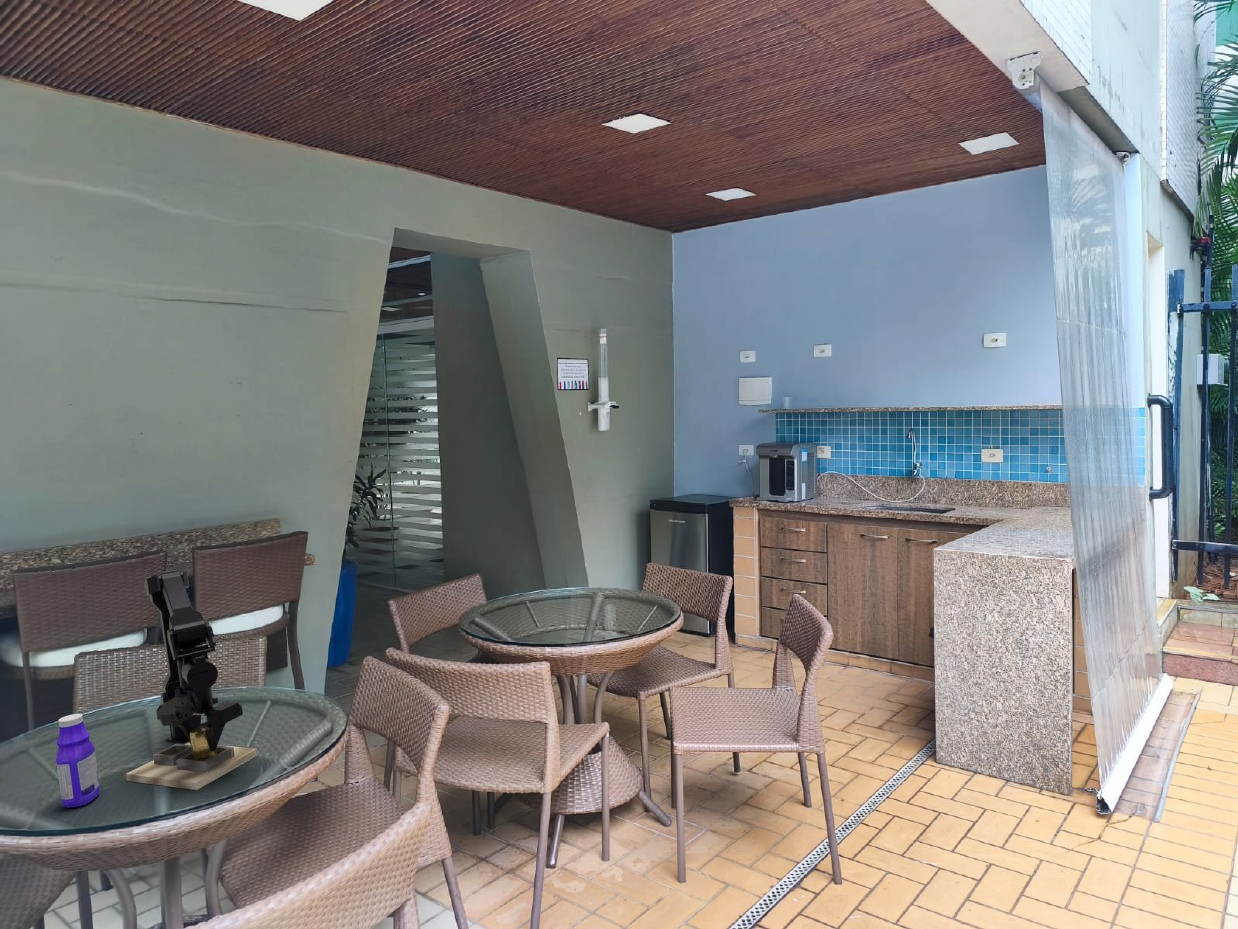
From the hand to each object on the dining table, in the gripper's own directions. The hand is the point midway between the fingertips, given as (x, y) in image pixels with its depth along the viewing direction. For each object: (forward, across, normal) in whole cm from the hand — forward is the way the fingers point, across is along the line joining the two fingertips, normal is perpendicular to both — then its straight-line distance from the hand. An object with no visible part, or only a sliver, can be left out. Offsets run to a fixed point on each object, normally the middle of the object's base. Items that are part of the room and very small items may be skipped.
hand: (204, 749), depth 177 cm
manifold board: (+4, -4, 0) cm, 6 cm away
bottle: (+5, -15, -17) cm, 23 cm away
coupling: (+2, 0, 0) cm, 2 cm away
